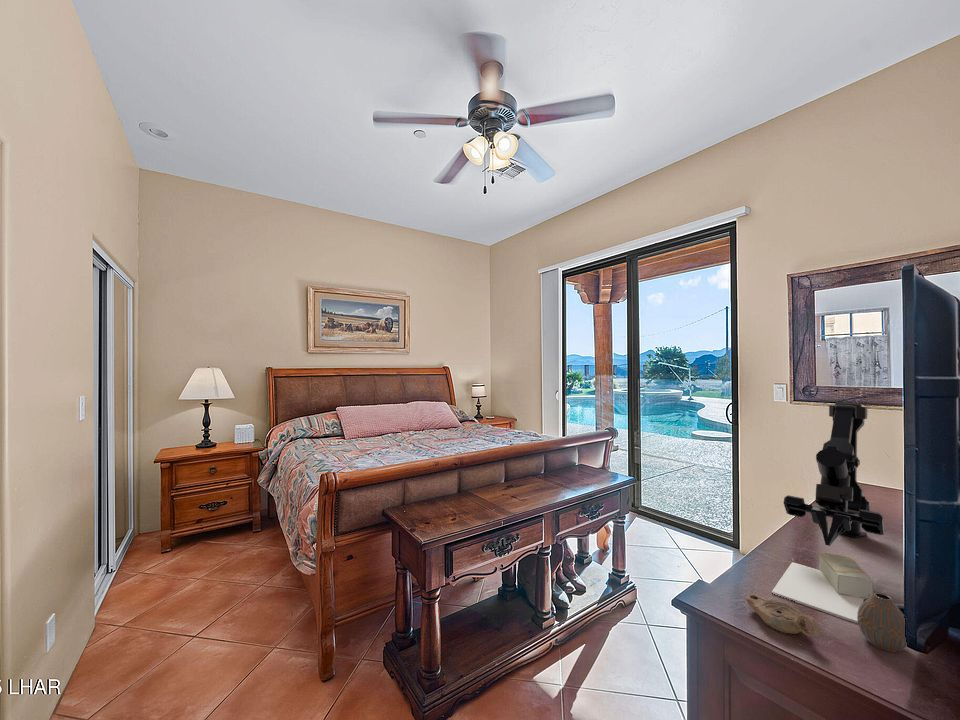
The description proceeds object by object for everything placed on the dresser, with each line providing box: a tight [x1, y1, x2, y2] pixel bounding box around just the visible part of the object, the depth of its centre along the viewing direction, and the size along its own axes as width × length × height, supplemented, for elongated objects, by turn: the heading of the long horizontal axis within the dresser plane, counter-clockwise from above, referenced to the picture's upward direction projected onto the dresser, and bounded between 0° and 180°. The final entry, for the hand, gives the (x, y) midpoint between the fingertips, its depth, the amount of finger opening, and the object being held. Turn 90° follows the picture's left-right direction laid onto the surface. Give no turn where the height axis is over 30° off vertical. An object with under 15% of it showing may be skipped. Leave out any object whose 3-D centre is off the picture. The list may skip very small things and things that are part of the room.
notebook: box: [771, 561, 865, 625], centre depth 91 cm, size 20×14×1 cm
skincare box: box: [818, 551, 875, 600], centre depth 93 cm, size 6×4×12 cm
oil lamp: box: [746, 594, 821, 638], centre depth 79 cm, size 13×8×5 cm, turn 14°
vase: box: [857, 592, 908, 653], centre depth 74 cm, size 7×7×9 cm
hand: (827, 544), depth 98 cm, fingers closed
